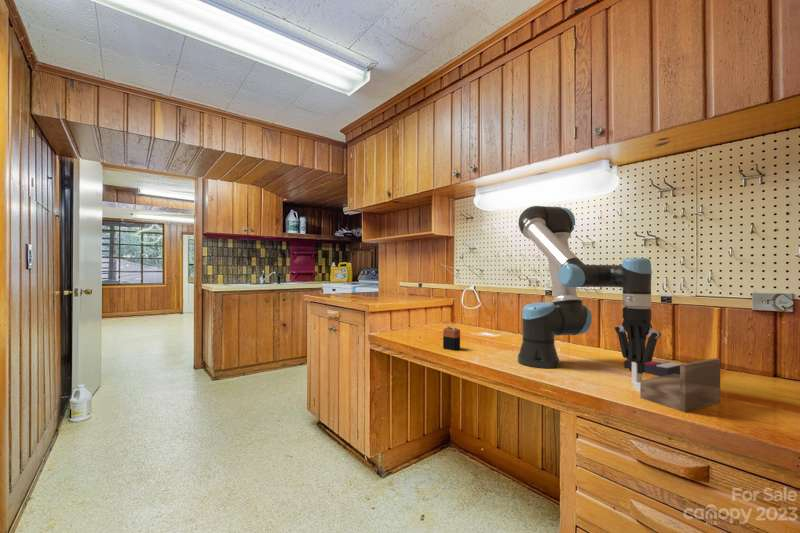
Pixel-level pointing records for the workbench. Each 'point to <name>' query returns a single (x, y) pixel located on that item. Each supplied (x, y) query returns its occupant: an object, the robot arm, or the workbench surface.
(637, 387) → the tile
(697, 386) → the brown wooden l-shaped block
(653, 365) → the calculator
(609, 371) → the workbench surface
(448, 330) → the battery
